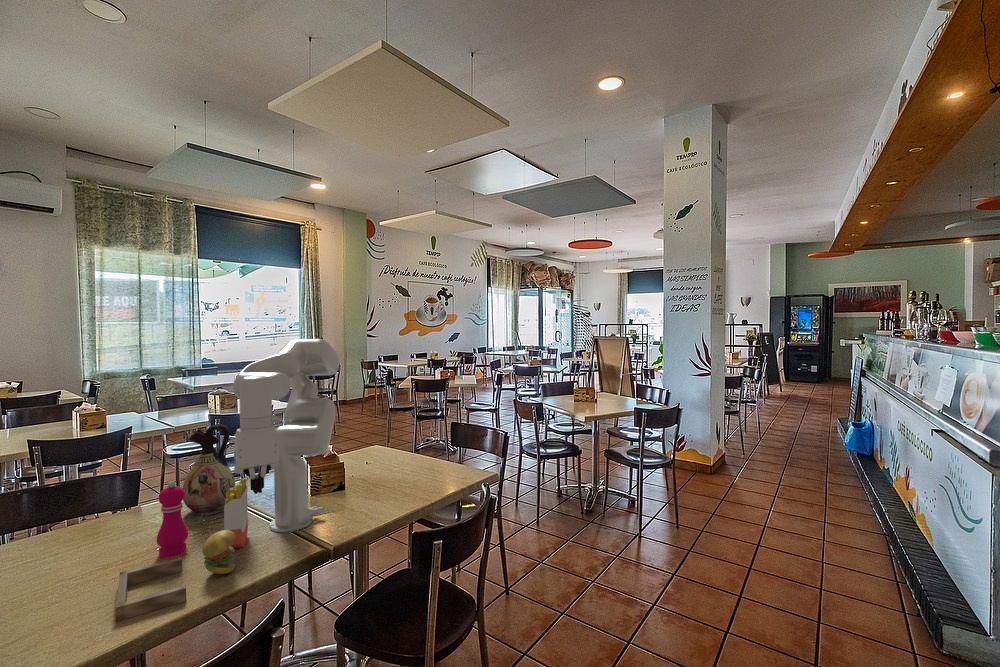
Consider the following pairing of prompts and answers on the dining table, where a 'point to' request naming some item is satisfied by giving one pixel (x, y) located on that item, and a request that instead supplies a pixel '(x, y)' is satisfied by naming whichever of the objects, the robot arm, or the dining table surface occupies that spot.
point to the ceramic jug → (208, 474)
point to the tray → (150, 601)
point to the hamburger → (219, 552)
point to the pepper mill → (172, 522)
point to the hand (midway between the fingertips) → (257, 491)
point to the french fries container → (237, 513)
